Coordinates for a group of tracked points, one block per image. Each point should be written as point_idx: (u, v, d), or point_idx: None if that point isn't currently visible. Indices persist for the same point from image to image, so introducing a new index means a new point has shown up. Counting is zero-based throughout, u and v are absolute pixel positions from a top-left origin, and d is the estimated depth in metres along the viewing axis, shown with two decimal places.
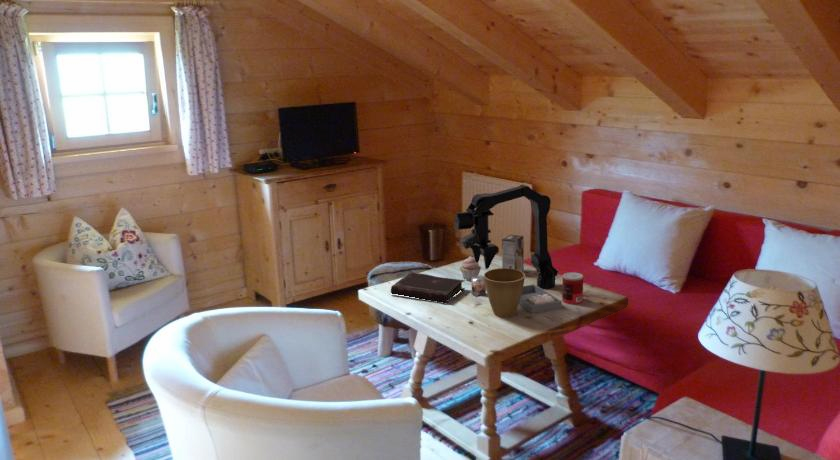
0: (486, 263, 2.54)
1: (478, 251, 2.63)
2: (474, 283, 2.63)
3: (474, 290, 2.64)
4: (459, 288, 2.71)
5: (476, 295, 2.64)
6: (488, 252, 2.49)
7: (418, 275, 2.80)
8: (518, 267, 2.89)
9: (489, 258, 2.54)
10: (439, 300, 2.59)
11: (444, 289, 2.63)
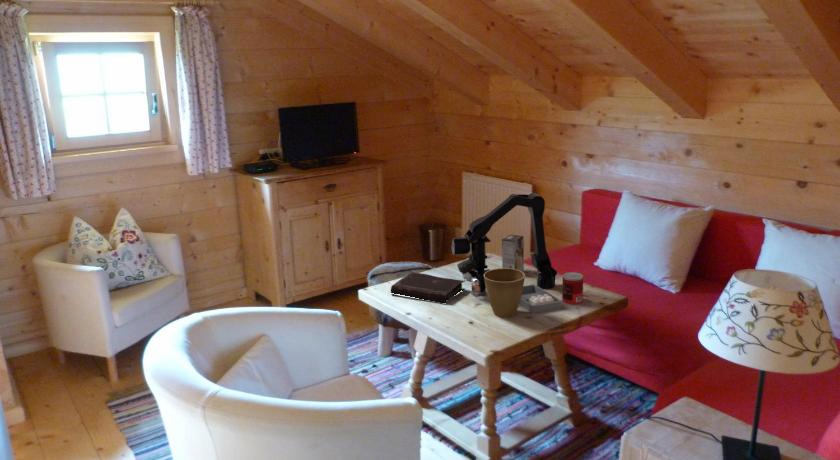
0: (481, 287, 2.62)
1: None
2: (474, 283, 2.63)
3: (474, 290, 2.64)
4: (459, 288, 2.70)
5: (476, 295, 2.64)
6: None
7: (419, 275, 2.80)
8: (518, 267, 2.89)
9: (484, 282, 2.61)
10: (438, 300, 2.59)
11: (443, 289, 2.62)
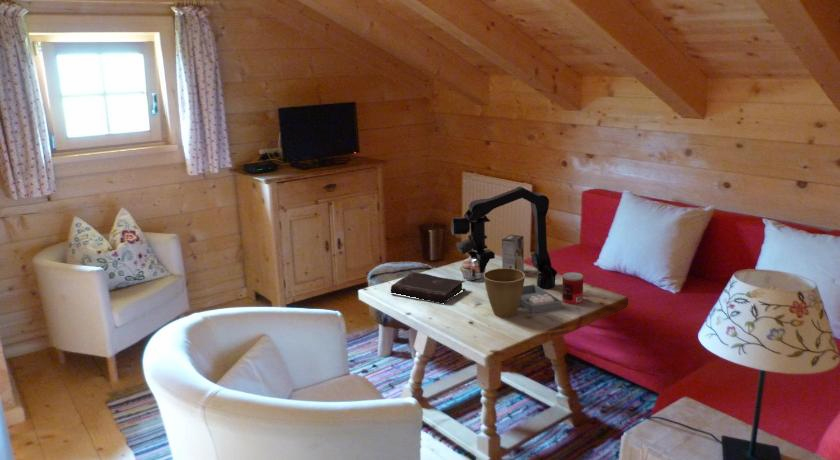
0: (481, 267, 2.60)
1: (476, 257, 2.66)
2: (474, 263, 2.61)
3: (474, 271, 2.62)
4: (459, 289, 2.70)
5: (476, 276, 2.62)
6: (484, 258, 2.53)
7: (419, 275, 2.80)
8: (518, 267, 2.89)
9: (484, 262, 2.59)
10: (437, 300, 2.59)
11: (443, 290, 2.62)
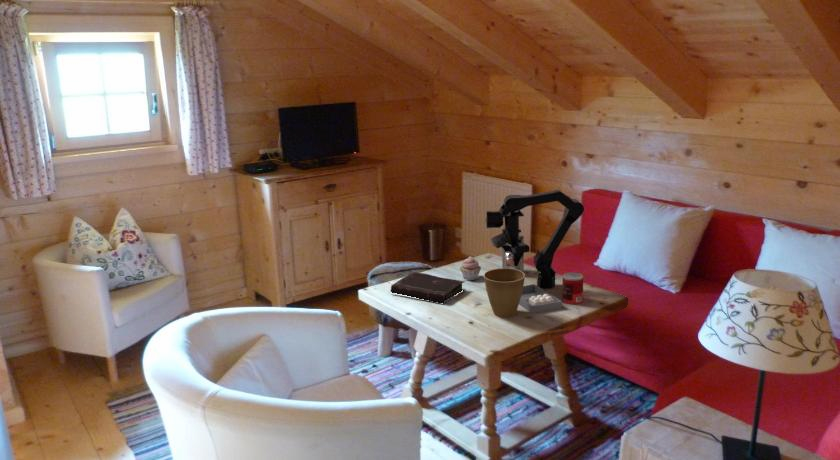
0: (515, 261, 2.64)
1: (510, 251, 2.71)
2: (508, 257, 2.66)
3: (508, 264, 2.66)
4: (459, 289, 2.70)
5: None
6: (519, 251, 2.57)
7: (420, 275, 2.80)
8: None
9: (518, 256, 2.64)
10: (437, 300, 2.59)
11: (442, 290, 2.62)
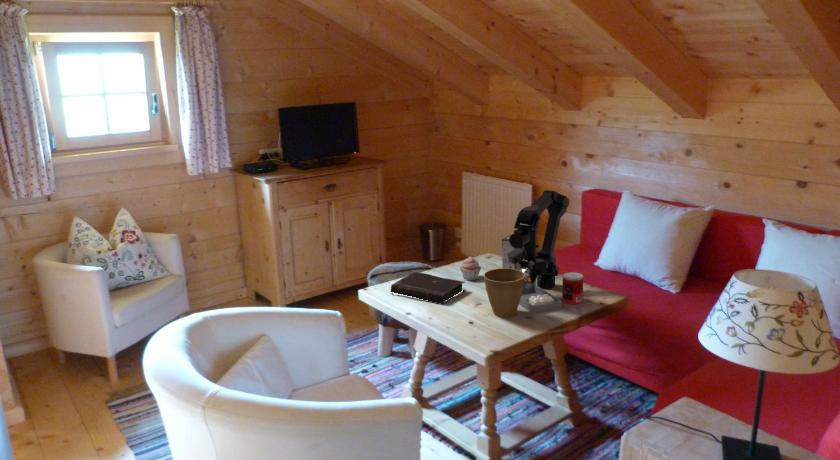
0: (532, 277, 2.52)
1: (526, 267, 2.59)
2: None
3: (524, 281, 2.55)
4: (459, 289, 2.69)
5: (526, 286, 2.55)
6: (537, 267, 2.46)
7: (421, 275, 2.80)
8: (518, 267, 2.89)
9: (535, 272, 2.52)
10: (436, 300, 2.59)
11: (442, 290, 2.62)
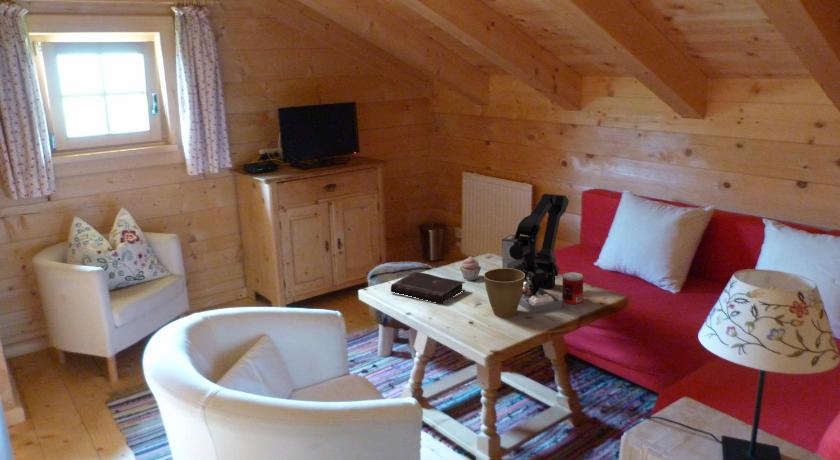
0: (534, 289, 2.52)
1: None
2: (524, 286, 2.55)
3: (524, 293, 2.56)
4: (459, 290, 2.69)
5: None
6: (537, 279, 2.47)
7: (421, 275, 2.80)
8: None
9: (537, 284, 2.52)
10: (435, 301, 2.59)
11: (441, 290, 2.62)
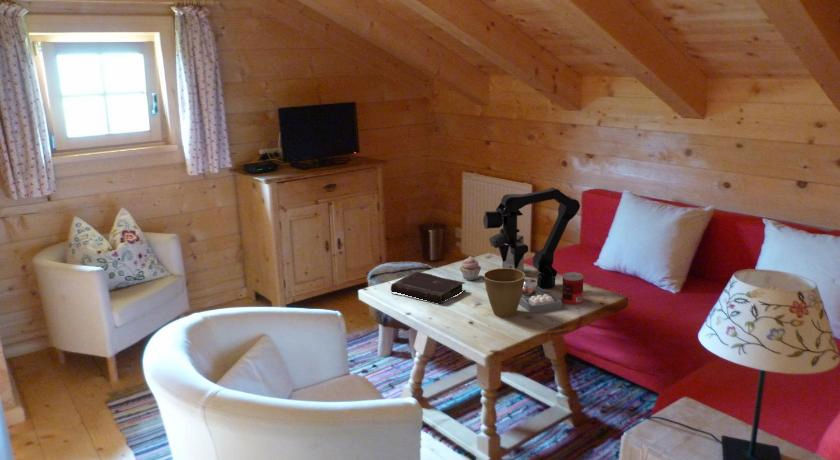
0: (515, 262, 2.59)
1: (505, 250, 2.68)
2: (524, 286, 2.55)
3: (524, 293, 2.56)
4: (459, 290, 2.69)
5: None
6: (519, 251, 2.54)
7: (422, 274, 2.80)
8: (518, 267, 2.89)
9: (518, 257, 2.59)
10: (434, 301, 2.59)
11: (440, 290, 2.62)
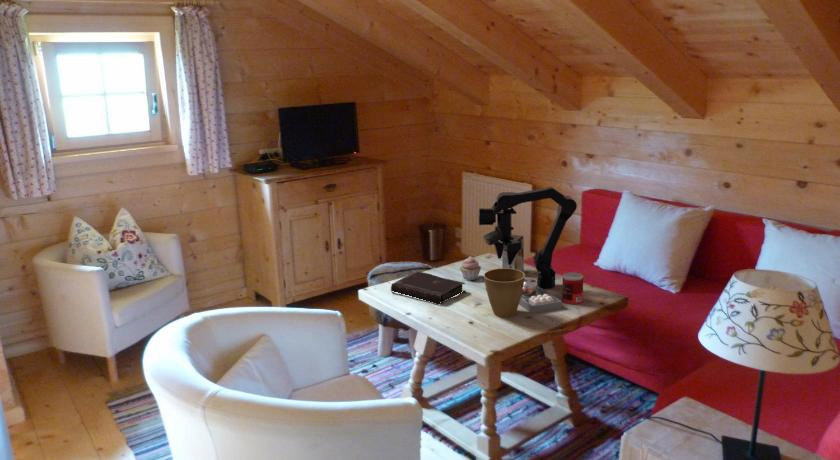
0: (509, 259, 2.62)
1: (501, 248, 2.72)
2: (524, 286, 2.55)
3: (524, 293, 2.56)
4: (459, 290, 2.68)
5: None
6: (511, 248, 2.57)
7: (423, 274, 2.80)
8: (518, 267, 2.89)
9: (512, 254, 2.62)
10: (433, 301, 2.59)
11: (440, 290, 2.62)
